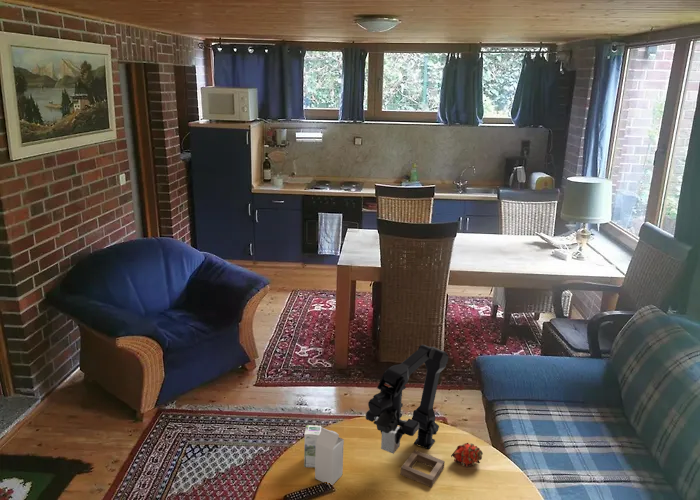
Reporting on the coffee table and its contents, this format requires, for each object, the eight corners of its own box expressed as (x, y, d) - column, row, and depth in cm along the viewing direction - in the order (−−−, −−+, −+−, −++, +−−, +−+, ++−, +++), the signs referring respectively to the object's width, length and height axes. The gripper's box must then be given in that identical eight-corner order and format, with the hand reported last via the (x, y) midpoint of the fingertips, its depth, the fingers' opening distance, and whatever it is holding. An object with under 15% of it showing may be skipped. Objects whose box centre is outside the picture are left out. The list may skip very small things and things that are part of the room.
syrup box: (320, 458, 205) (321, 424, 201) (319, 468, 200) (320, 434, 196) (305, 457, 206) (306, 423, 201) (303, 468, 200) (304, 433, 196)
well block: (414, 456, 208) (414, 449, 207) (444, 467, 203) (444, 461, 202) (400, 474, 198) (400, 467, 197) (431, 487, 193) (432, 480, 192)
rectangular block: (387, 441, 202) (388, 422, 200) (399, 446, 199) (400, 427, 197) (380, 448, 198) (382, 429, 195) (393, 453, 195) (394, 434, 193)
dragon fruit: (484, 468, 206) (452, 472, 206) (478, 445, 211) (447, 448, 211) (487, 461, 199) (454, 465, 199) (481, 438, 204) (449, 441, 204)
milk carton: (331, 486, 191) (332, 439, 186) (314, 478, 195) (315, 432, 189) (342, 475, 197) (344, 429, 192) (326, 467, 201) (327, 422, 195)
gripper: (358, 405, 191) (357, 443, 196) (407, 423, 182) (404, 462, 187) (374, 390, 200) (372, 427, 205) (421, 407, 191) (418, 445, 196)
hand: (390, 440), depth 198 cm, fingers closed on rectangular block, 5 cm apart
